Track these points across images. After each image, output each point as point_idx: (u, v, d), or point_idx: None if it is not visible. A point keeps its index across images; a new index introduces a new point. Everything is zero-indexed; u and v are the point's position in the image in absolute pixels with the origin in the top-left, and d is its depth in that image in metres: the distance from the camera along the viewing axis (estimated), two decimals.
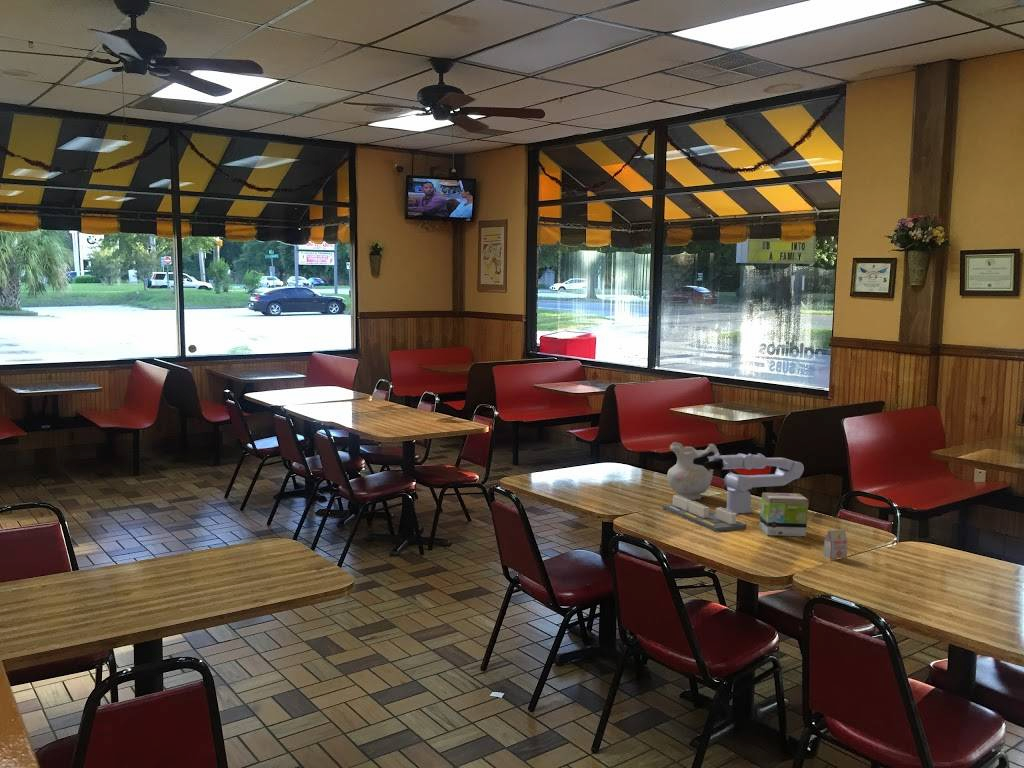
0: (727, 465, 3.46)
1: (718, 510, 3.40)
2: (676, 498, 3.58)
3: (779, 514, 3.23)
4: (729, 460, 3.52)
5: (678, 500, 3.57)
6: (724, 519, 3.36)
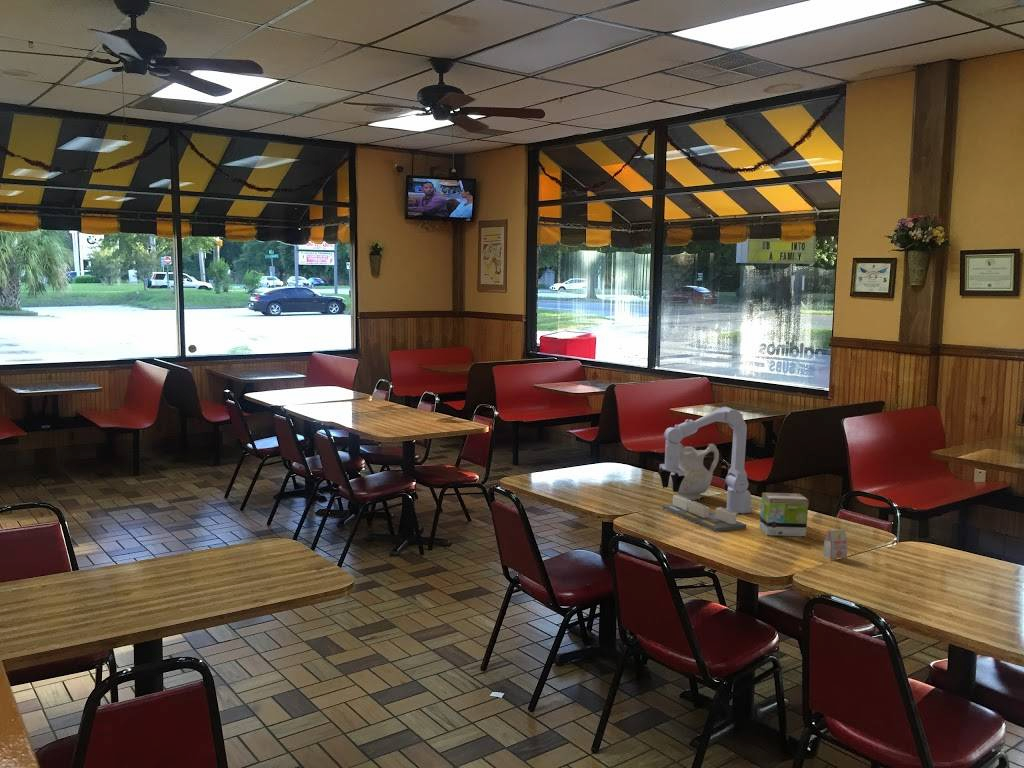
0: (681, 472, 3.46)
1: (718, 510, 3.40)
2: (676, 498, 3.58)
3: (779, 514, 3.23)
4: (673, 459, 3.49)
5: (678, 500, 3.57)
6: (724, 519, 3.36)
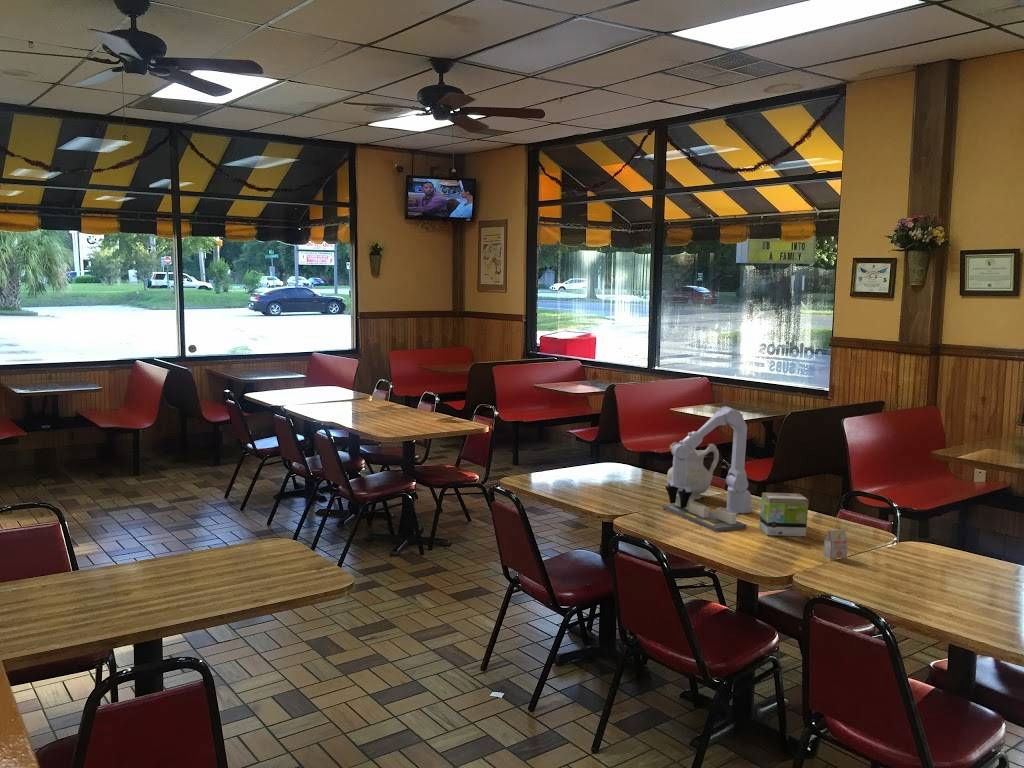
0: (688, 489, 3.48)
1: (718, 510, 3.40)
2: (678, 498, 3.58)
3: (779, 514, 3.23)
4: (680, 475, 3.51)
5: None
6: (724, 519, 3.36)
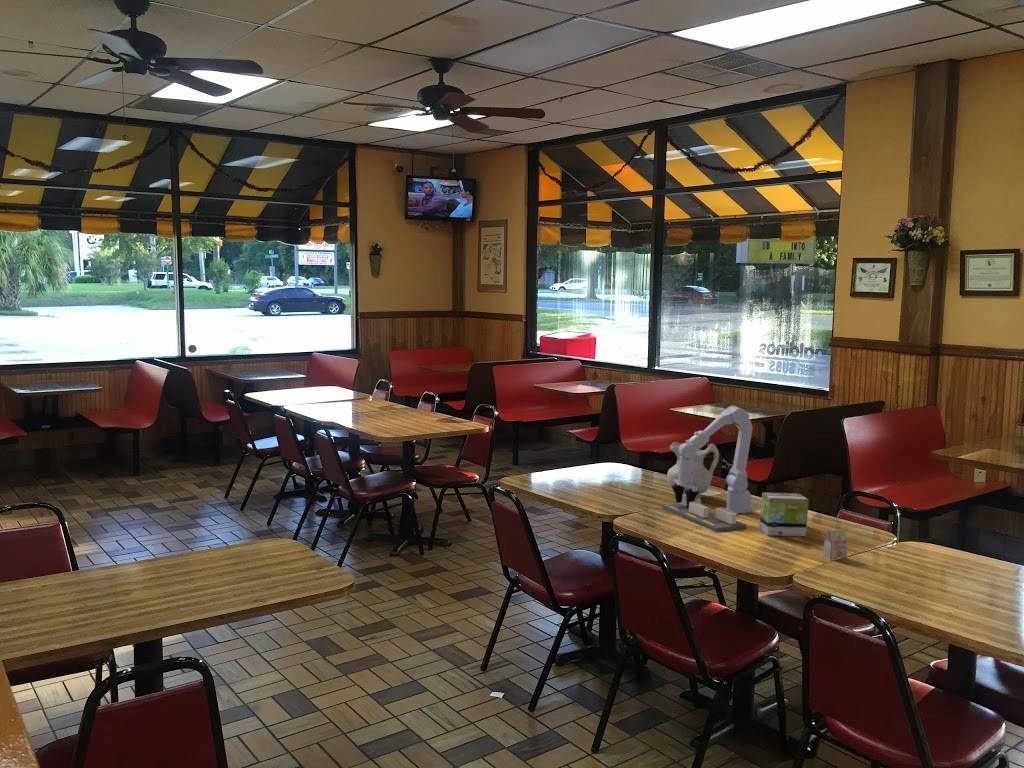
0: (695, 488, 3.49)
1: (718, 510, 3.40)
2: (685, 497, 3.60)
3: (779, 514, 3.23)
4: (687, 475, 3.53)
5: None
6: (724, 519, 3.36)
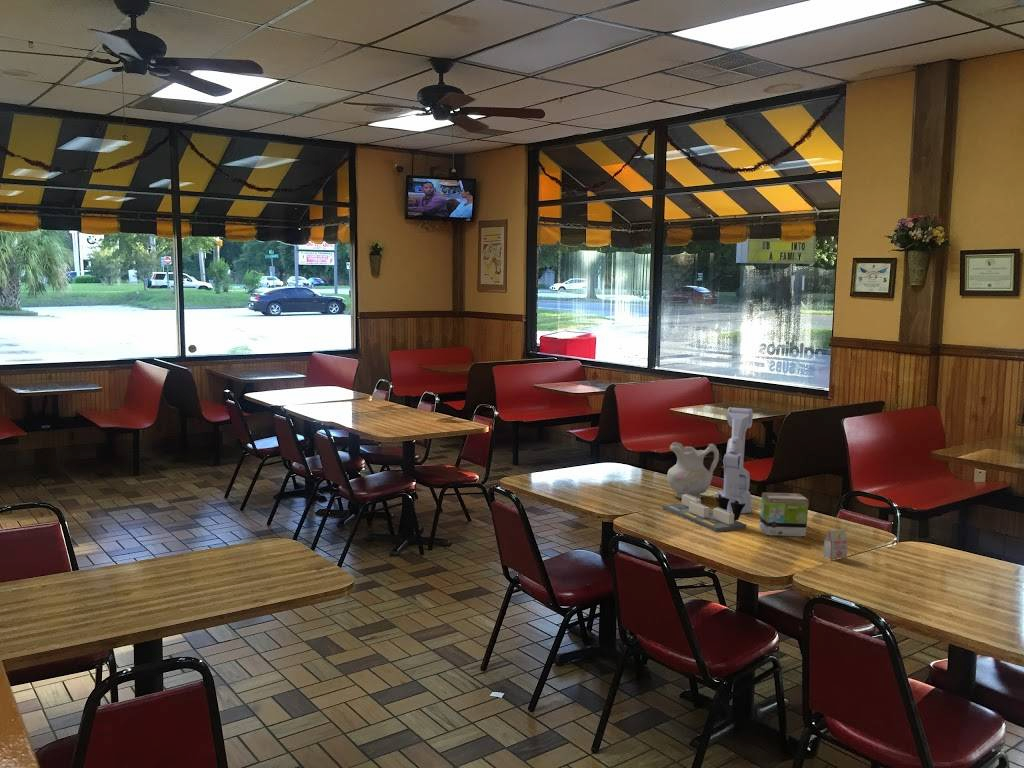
0: (741, 500, 3.31)
1: (716, 510, 3.39)
2: (685, 497, 3.60)
3: (779, 514, 3.23)
4: (733, 486, 3.34)
5: (687, 499, 3.59)
6: (722, 519, 3.36)
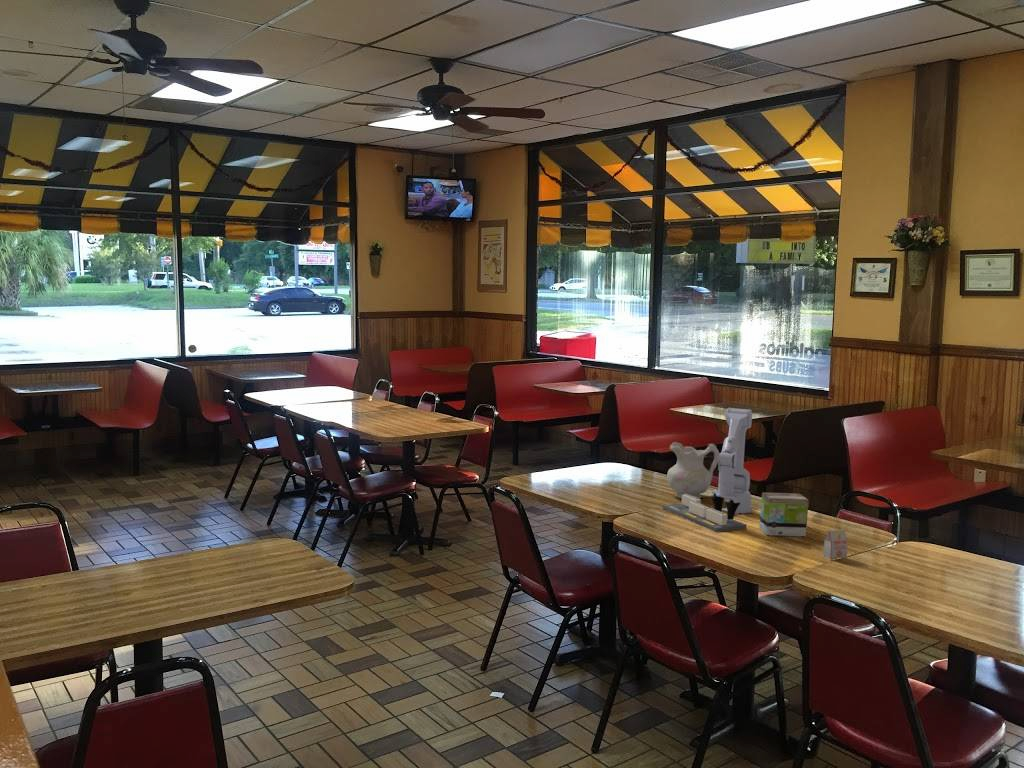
0: (736, 499, 3.29)
1: (709, 511, 3.38)
2: (685, 497, 3.60)
3: (779, 514, 3.23)
4: (727, 485, 3.33)
5: (687, 499, 3.59)
6: (714, 520, 3.34)
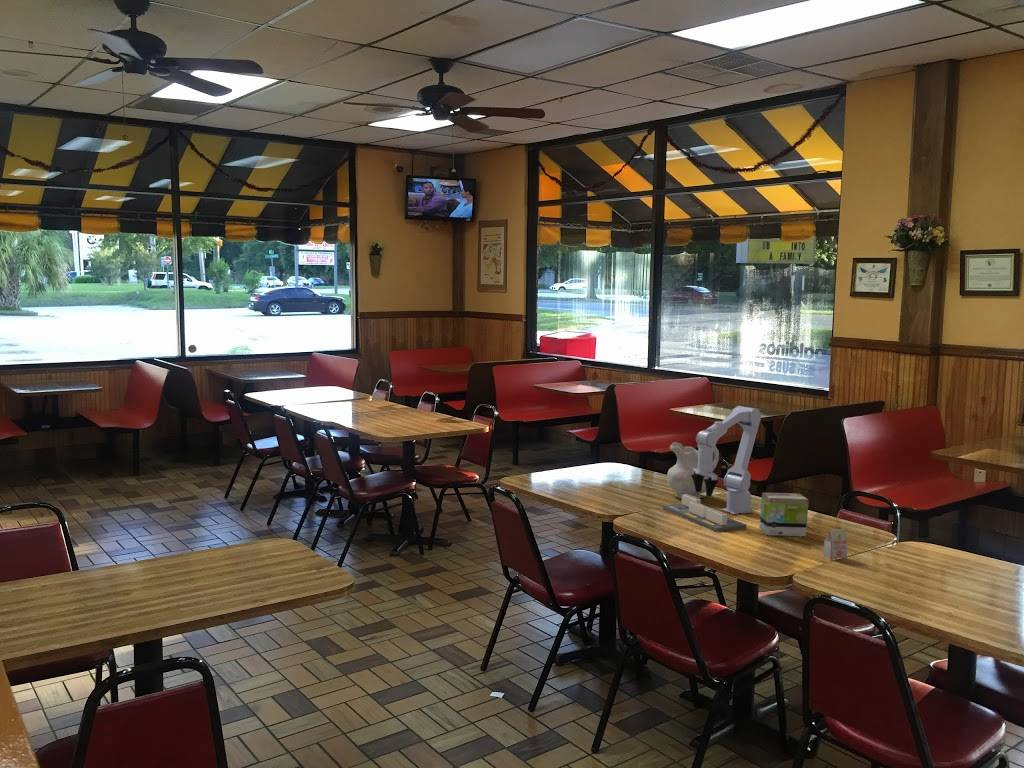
0: (714, 477, 3.39)
1: (709, 511, 3.38)
2: (685, 497, 3.60)
3: (779, 514, 3.23)
4: (706, 463, 3.43)
5: (687, 499, 3.59)
6: (714, 520, 3.34)
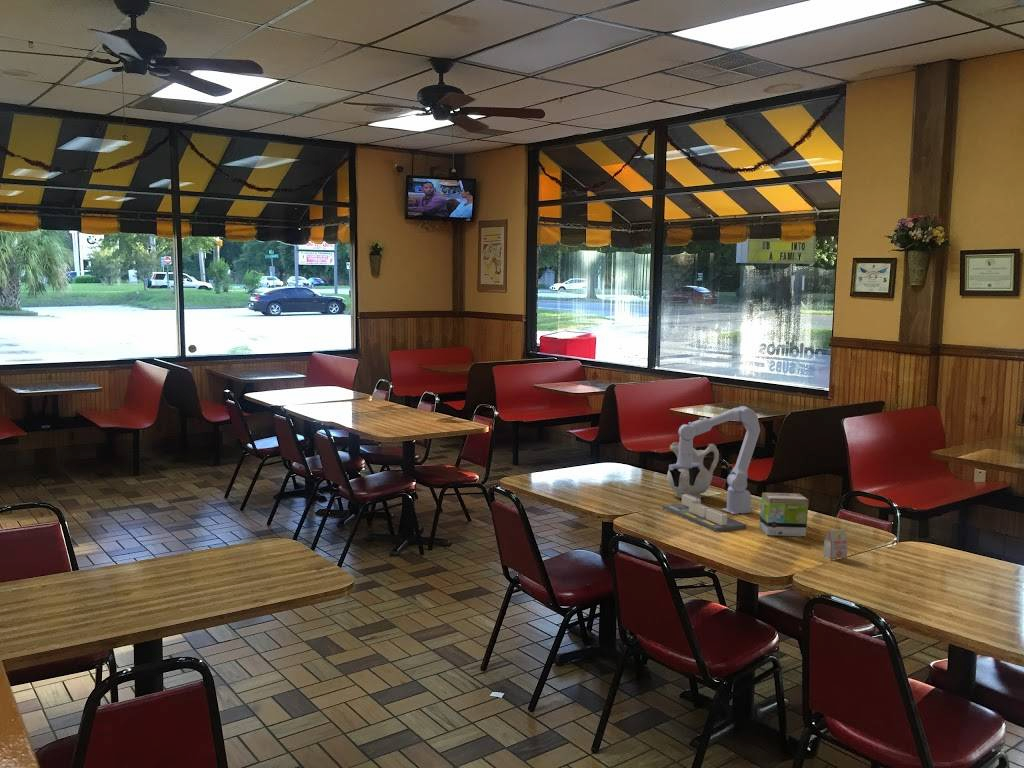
0: (669, 466, 3.55)
1: (709, 511, 3.38)
2: (685, 497, 3.60)
3: (779, 514, 3.23)
4: (678, 454, 3.57)
5: (687, 499, 3.59)
6: (714, 520, 3.34)
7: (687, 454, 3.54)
